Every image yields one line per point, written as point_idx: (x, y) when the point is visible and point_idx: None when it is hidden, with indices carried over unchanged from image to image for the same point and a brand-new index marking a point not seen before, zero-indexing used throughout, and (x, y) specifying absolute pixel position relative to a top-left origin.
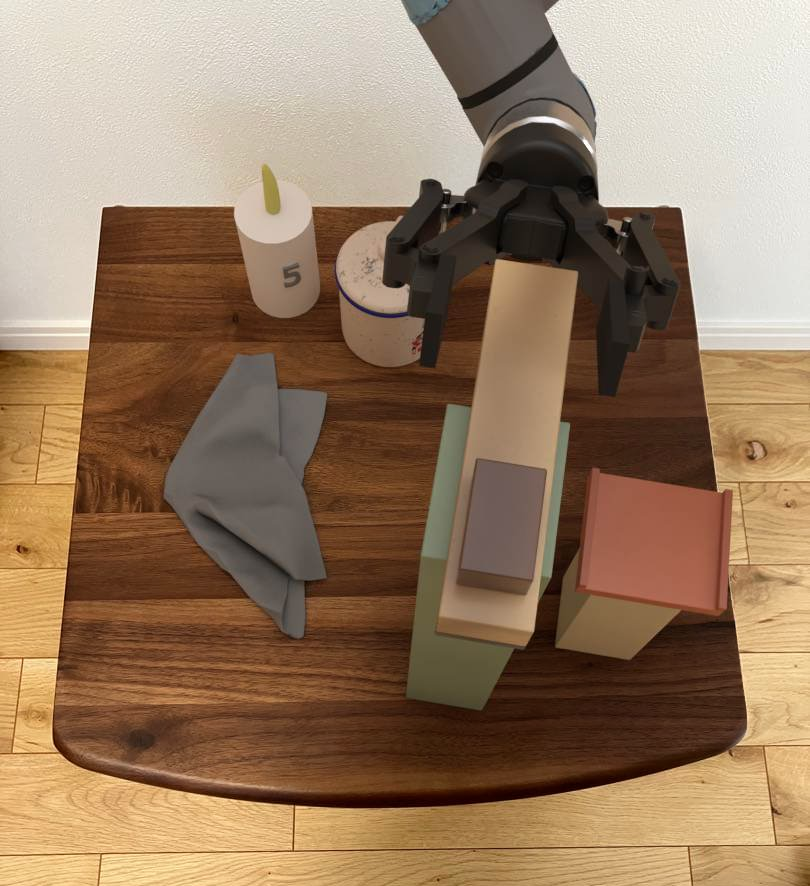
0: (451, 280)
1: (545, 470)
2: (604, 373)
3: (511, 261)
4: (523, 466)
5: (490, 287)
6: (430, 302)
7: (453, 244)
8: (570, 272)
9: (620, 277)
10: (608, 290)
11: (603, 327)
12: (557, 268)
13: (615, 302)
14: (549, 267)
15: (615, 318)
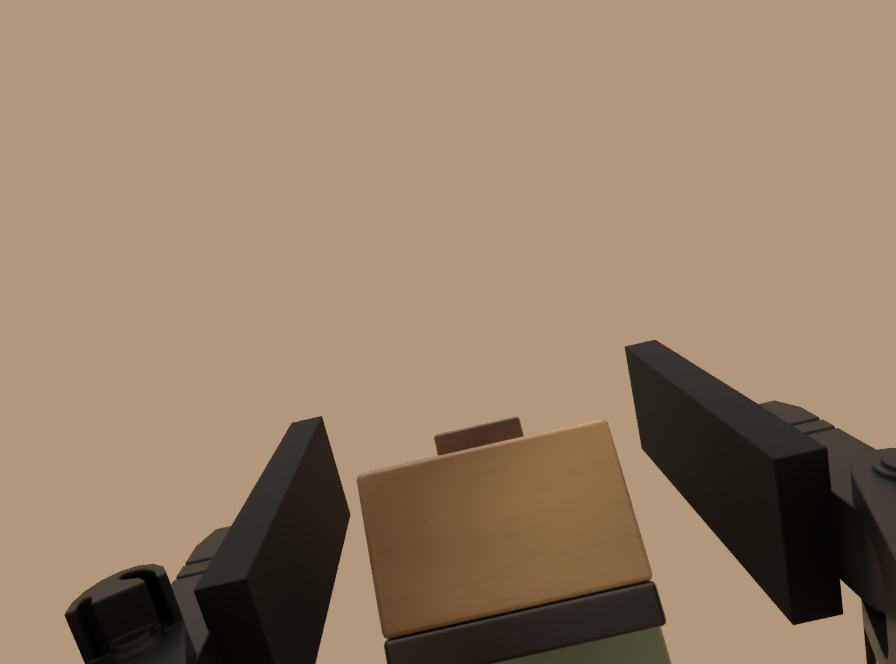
0: (711, 432)
1: (436, 436)
2: (338, 475)
3: (558, 431)
4: (462, 429)
5: (649, 564)
6: (667, 351)
7: (887, 530)
8: (380, 469)
9: (180, 642)
10: (266, 548)
11: (305, 559)
12: (419, 462)
13: (272, 495)
14: (443, 456)
15: (294, 456)
